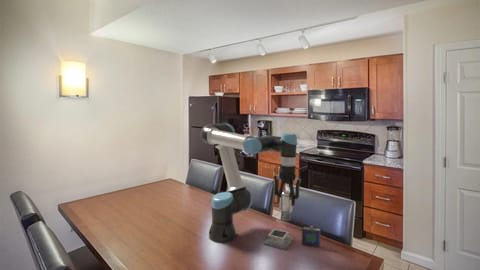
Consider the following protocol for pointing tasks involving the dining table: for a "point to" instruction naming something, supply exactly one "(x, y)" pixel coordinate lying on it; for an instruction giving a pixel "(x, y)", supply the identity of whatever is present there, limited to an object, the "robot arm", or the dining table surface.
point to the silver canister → (285, 206)
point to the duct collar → (278, 239)
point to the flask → (310, 237)
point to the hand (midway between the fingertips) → (285, 210)
